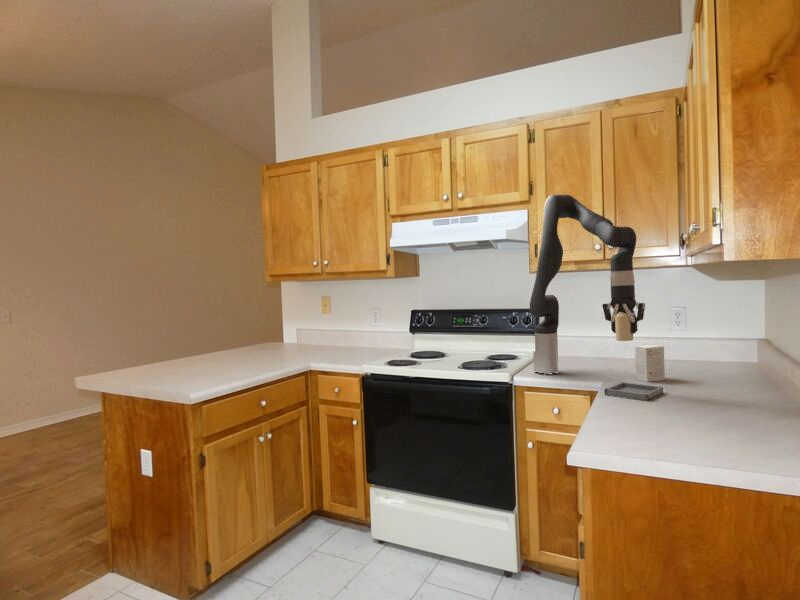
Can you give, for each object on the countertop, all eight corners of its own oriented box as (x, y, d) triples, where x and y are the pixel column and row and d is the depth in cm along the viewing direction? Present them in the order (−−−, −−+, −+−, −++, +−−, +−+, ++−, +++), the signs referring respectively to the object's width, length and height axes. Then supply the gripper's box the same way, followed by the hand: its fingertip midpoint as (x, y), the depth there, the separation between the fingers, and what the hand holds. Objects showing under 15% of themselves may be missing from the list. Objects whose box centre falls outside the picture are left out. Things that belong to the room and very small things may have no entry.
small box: (652, 377, 191) (652, 344, 190) (665, 380, 185) (664, 346, 184) (635, 379, 189) (634, 345, 188) (647, 382, 183) (646, 347, 182)
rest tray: (604, 394, 166) (604, 389, 166) (621, 387, 176) (621, 382, 176) (647, 401, 156) (647, 394, 156) (663, 392, 166) (663, 387, 166)
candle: (623, 341, 165) (622, 312, 165) (612, 340, 170) (611, 311, 170) (637, 340, 167) (635, 311, 166) (625, 339, 172) (624, 310, 172)
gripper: (597, 285, 171) (599, 333, 171) (639, 283, 160) (642, 334, 161) (606, 285, 176) (608, 331, 176) (648, 283, 165) (650, 332, 166)
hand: (624, 332), depth 168 cm, fingers closed on candle, 5 cm apart
